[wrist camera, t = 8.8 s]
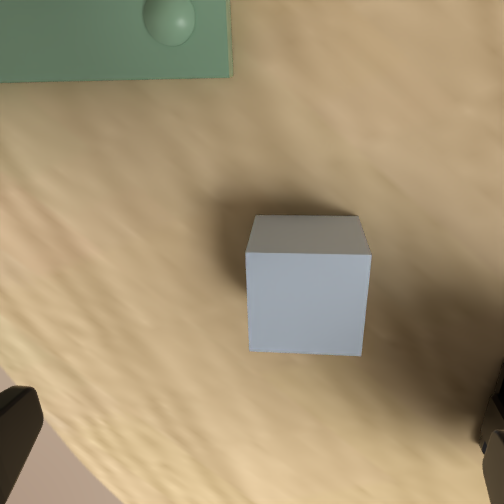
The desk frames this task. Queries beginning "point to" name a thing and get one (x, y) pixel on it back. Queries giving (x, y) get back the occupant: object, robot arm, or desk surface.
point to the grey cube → (307, 284)
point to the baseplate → (114, 40)
